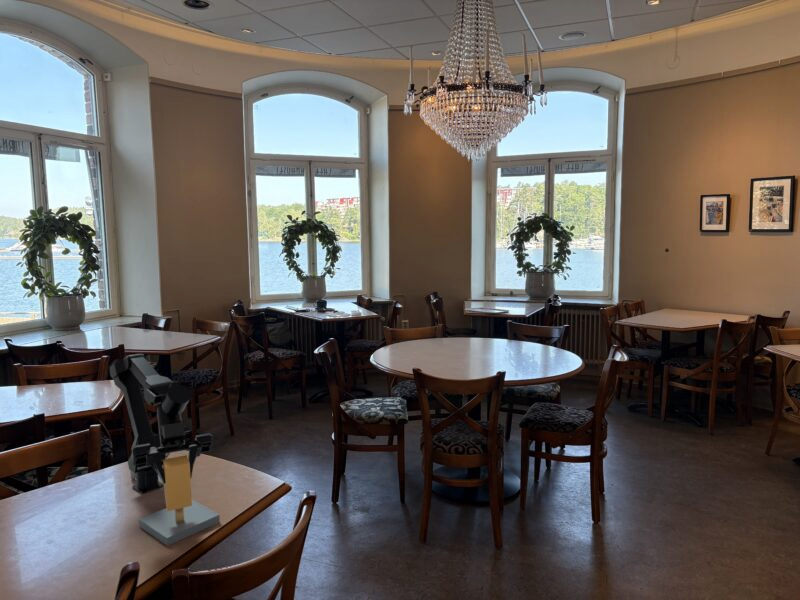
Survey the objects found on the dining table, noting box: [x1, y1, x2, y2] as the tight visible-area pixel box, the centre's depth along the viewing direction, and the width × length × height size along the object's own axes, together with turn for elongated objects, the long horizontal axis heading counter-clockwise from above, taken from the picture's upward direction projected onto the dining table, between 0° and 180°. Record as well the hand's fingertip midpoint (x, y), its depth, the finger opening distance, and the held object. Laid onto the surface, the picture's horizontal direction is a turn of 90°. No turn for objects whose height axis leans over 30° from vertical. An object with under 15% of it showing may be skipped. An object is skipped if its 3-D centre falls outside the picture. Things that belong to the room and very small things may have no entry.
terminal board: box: [138, 499, 221, 547], centre depth 139 cm, size 14×14×5 cm
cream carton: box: [162, 454, 193, 511], centre depth 136 cm, size 6×6×11 cm
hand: (177, 480), depth 135 cm, fingers closed on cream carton, 6 cm apart
